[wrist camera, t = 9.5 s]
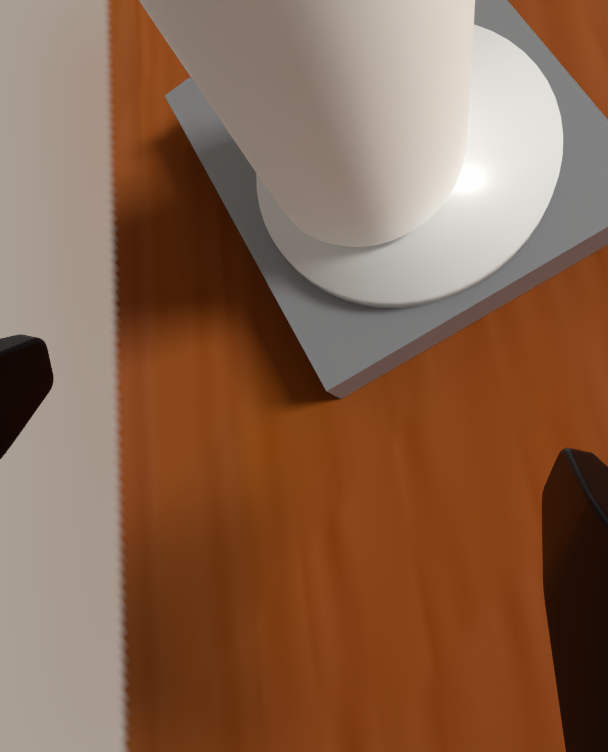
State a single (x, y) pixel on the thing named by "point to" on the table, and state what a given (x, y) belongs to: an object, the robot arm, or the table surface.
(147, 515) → the table surface
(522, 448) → the table surface
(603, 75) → the table surface
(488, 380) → the table surface
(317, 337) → the scale
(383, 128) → the can
